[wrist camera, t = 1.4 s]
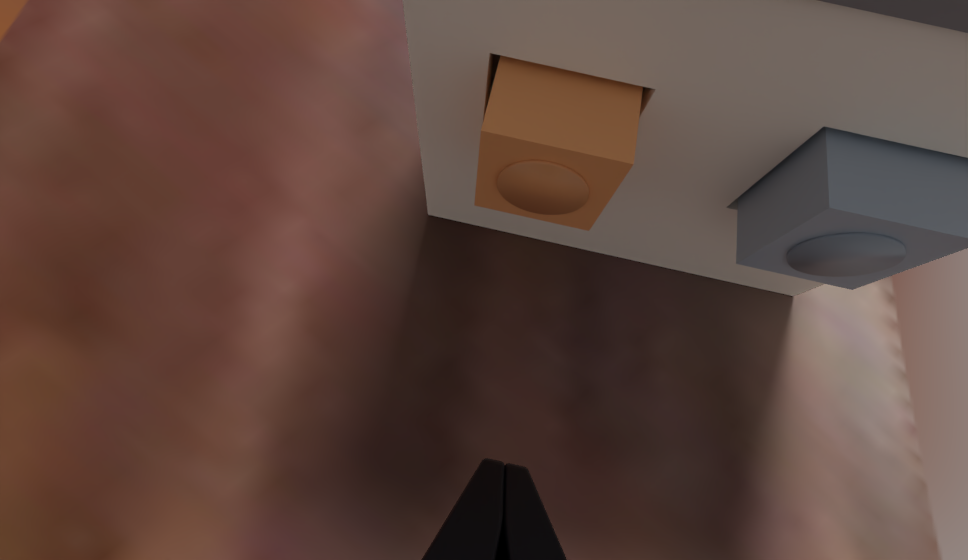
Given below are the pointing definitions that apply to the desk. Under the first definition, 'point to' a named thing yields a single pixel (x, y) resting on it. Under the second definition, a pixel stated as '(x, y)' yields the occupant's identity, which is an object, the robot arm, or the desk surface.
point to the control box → (691, 103)
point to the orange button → (555, 142)
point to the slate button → (854, 210)
